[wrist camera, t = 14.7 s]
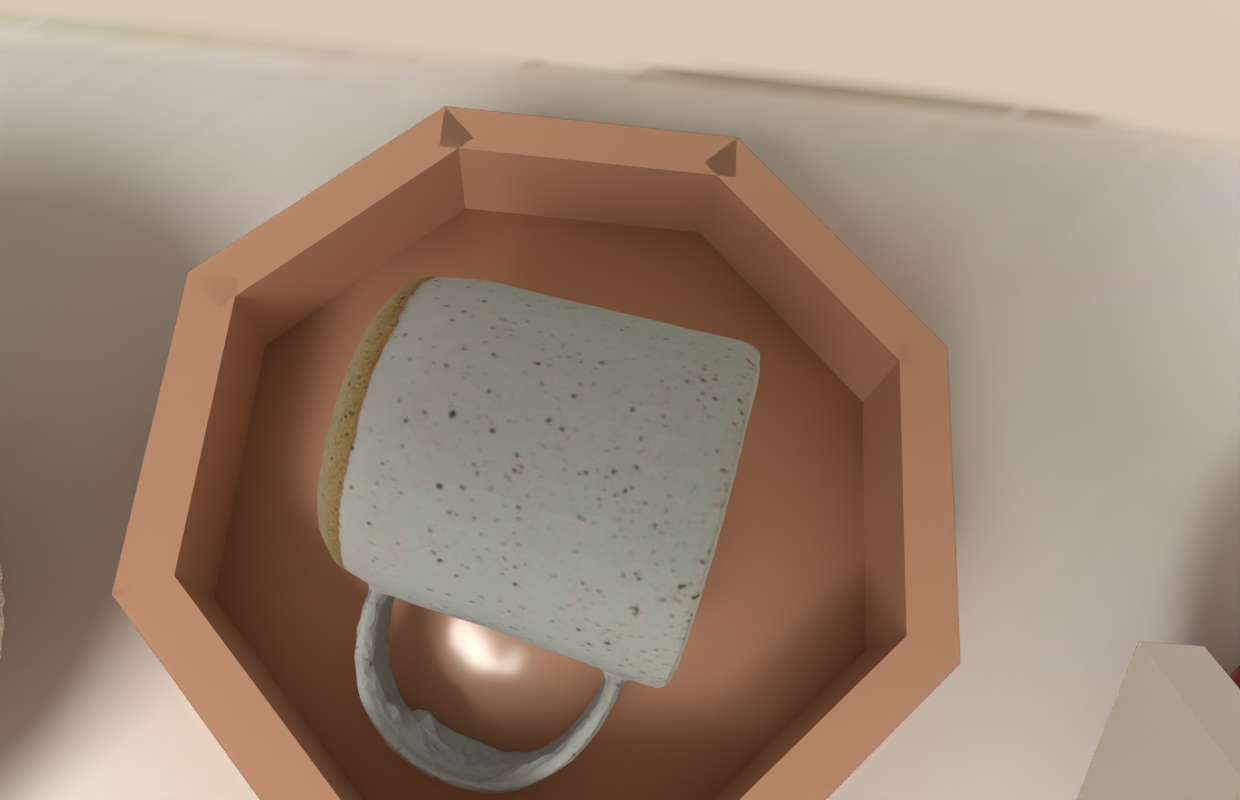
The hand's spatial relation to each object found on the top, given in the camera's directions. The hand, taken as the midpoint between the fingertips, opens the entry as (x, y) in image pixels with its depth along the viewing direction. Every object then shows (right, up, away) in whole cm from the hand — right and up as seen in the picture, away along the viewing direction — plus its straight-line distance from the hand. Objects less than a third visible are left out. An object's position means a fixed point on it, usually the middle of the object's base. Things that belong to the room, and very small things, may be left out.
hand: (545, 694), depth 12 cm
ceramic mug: (-1, -1, +15) cm, 15 cm away
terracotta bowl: (-1, +1, +16) cm, 16 cm away
